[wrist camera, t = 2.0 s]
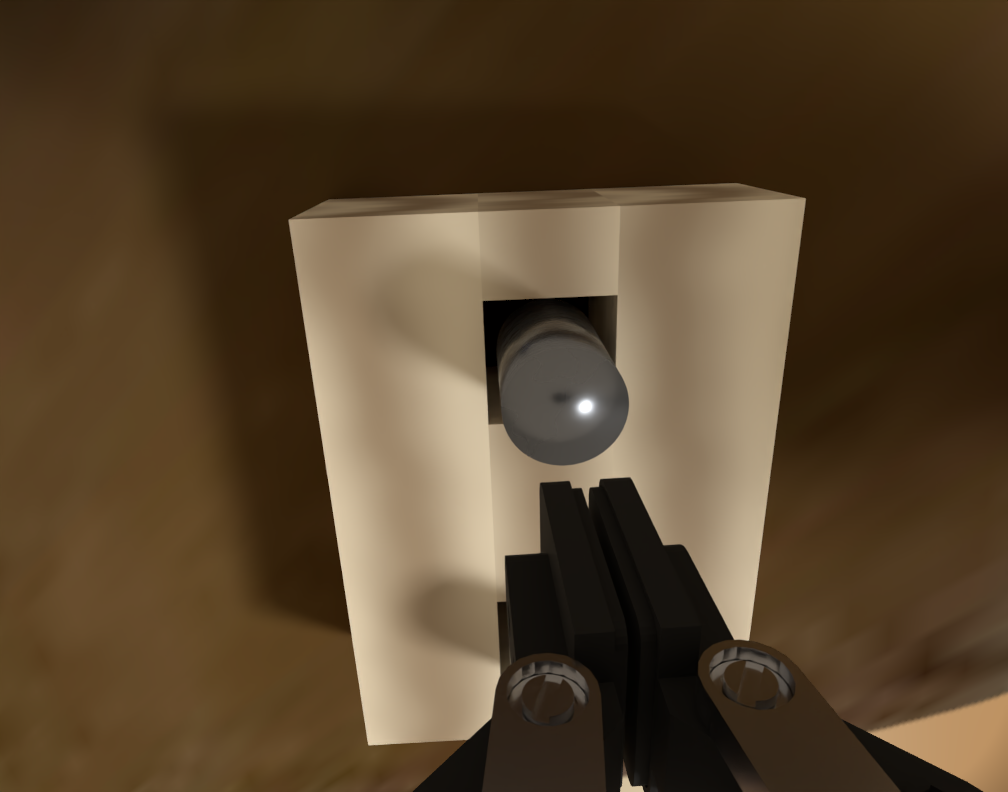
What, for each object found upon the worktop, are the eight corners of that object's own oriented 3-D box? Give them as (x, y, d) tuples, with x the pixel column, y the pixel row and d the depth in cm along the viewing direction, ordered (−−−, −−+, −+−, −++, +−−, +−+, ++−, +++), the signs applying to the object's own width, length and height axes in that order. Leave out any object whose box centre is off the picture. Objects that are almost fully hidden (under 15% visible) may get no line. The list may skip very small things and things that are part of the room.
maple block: (736, 182, 26) (805, 198, 21) (696, 627, 35) (737, 723, 29) (328, 199, 26) (288, 219, 21) (386, 644, 34) (368, 745, 29)
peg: (597, 296, 23) (631, 344, 18) (595, 393, 25) (627, 462, 20) (494, 301, 23) (498, 350, 18) (498, 397, 25) (503, 468, 19)
